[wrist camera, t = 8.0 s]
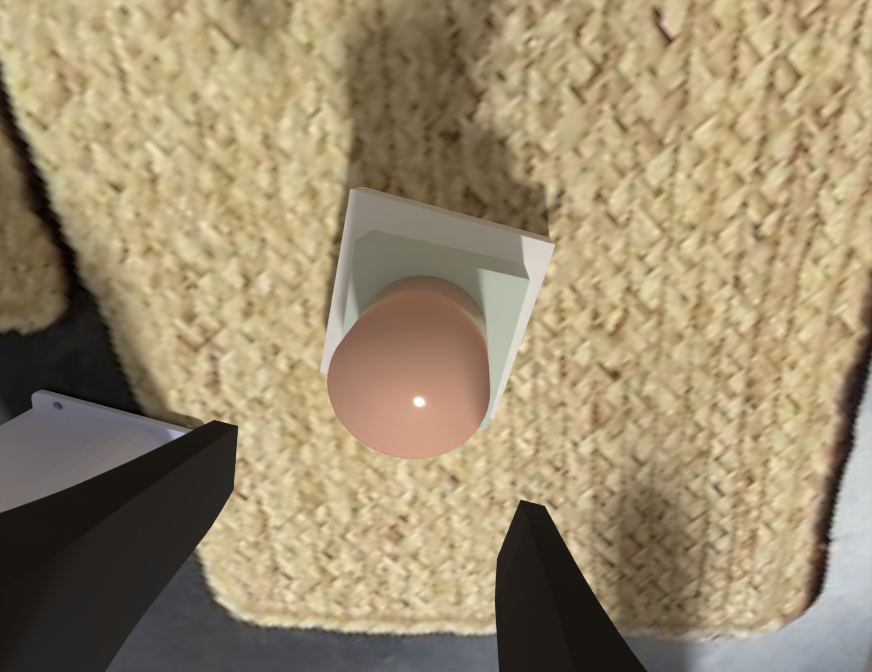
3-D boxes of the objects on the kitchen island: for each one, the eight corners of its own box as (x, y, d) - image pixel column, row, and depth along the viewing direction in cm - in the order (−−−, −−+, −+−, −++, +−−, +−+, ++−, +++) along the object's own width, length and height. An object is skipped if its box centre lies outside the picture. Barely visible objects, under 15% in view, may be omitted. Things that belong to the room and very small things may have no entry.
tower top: (352, 365, 20) (334, 393, 17) (372, 229, 17) (354, 240, 15) (486, 396, 19) (486, 428, 17) (524, 263, 17) (530, 279, 15)
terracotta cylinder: (354, 378, 17) (319, 440, 13) (371, 263, 15) (336, 296, 11) (471, 404, 17) (469, 473, 13) (501, 291, 15) (509, 333, 11)
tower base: (337, 349, 22) (319, 371, 20) (366, 185, 19) (350, 188, 17) (492, 392, 22) (493, 419, 20) (546, 234, 19) (555, 244, 17)
